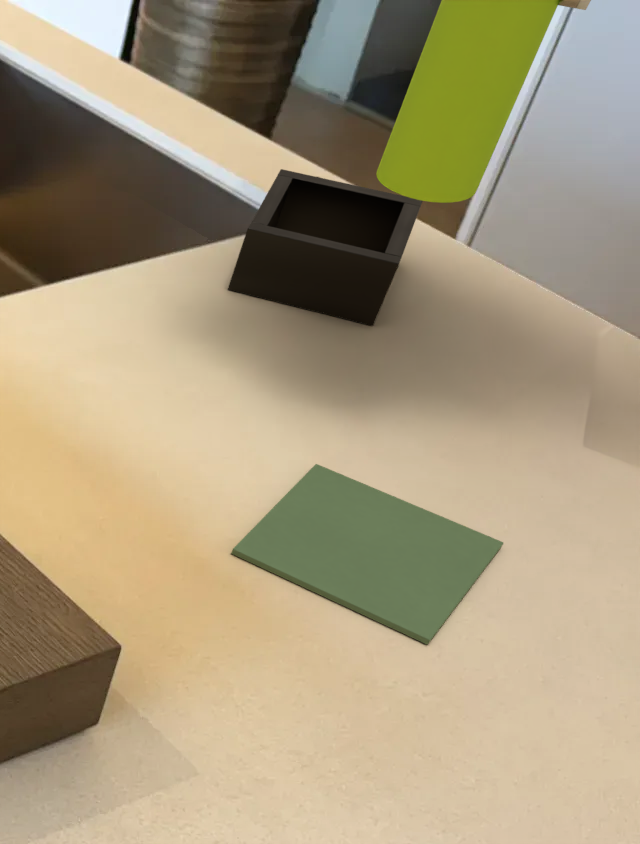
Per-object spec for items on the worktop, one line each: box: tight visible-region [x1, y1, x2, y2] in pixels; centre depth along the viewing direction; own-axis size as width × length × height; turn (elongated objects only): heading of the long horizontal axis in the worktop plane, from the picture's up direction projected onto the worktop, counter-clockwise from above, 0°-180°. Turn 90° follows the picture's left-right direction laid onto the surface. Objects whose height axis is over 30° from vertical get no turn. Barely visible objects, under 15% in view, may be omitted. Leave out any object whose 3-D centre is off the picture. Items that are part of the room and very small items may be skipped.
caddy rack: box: [227, 168, 424, 327], centre depth 105 cm, size 12×11×5 cm
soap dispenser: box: [375, 0, 559, 204], centre depth 78 cm, size 6×7×20 cm
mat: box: [231, 463, 504, 645], centre depth 83 cm, size 12×12×1 cm
